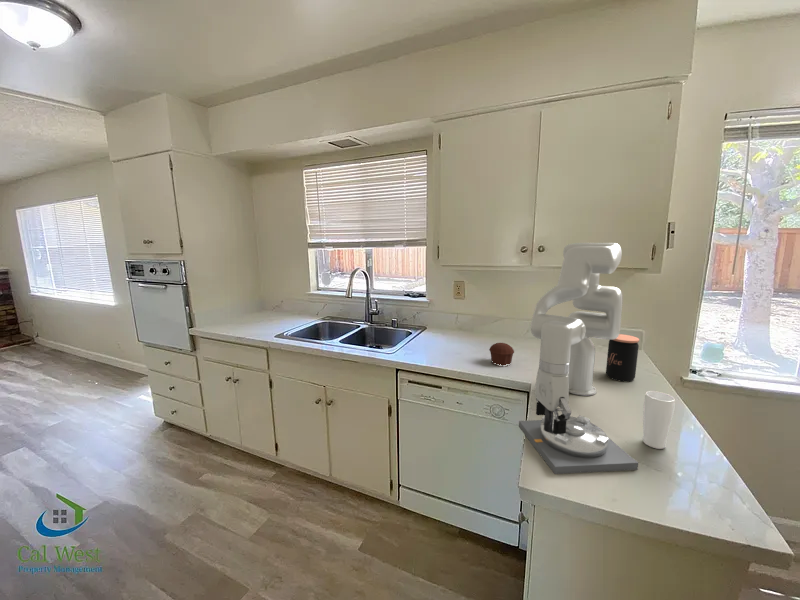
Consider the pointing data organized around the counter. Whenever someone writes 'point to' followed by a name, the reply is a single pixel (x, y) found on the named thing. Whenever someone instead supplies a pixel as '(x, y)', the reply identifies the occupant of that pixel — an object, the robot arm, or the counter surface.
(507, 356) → the muffin
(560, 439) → the round metal lid
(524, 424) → the gray square base plate
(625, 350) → the coffee jar
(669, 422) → the drinking glass
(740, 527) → the counter surface
